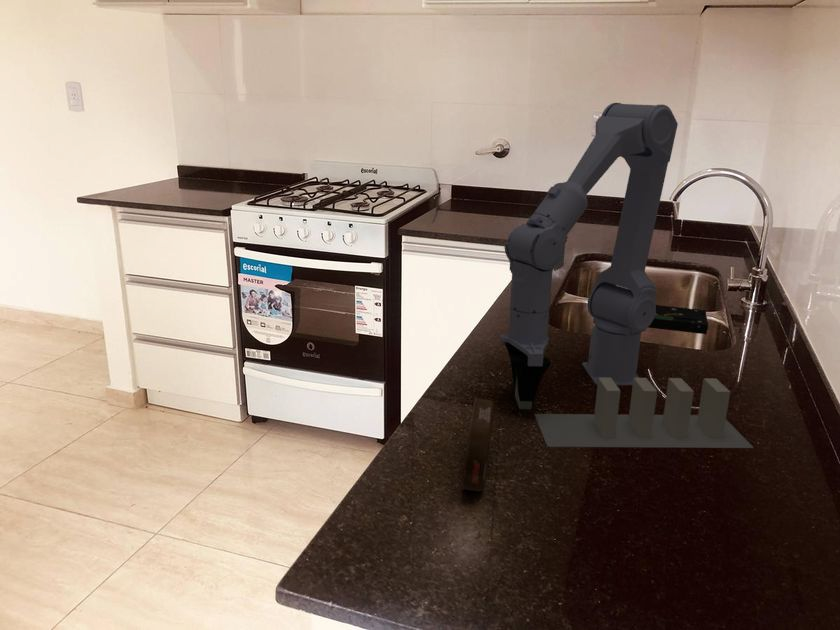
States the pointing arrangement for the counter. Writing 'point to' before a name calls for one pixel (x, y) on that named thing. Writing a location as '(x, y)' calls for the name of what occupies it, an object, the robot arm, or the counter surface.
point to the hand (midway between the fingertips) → (523, 393)
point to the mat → (630, 434)
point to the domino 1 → (522, 403)
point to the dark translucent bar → (478, 445)
